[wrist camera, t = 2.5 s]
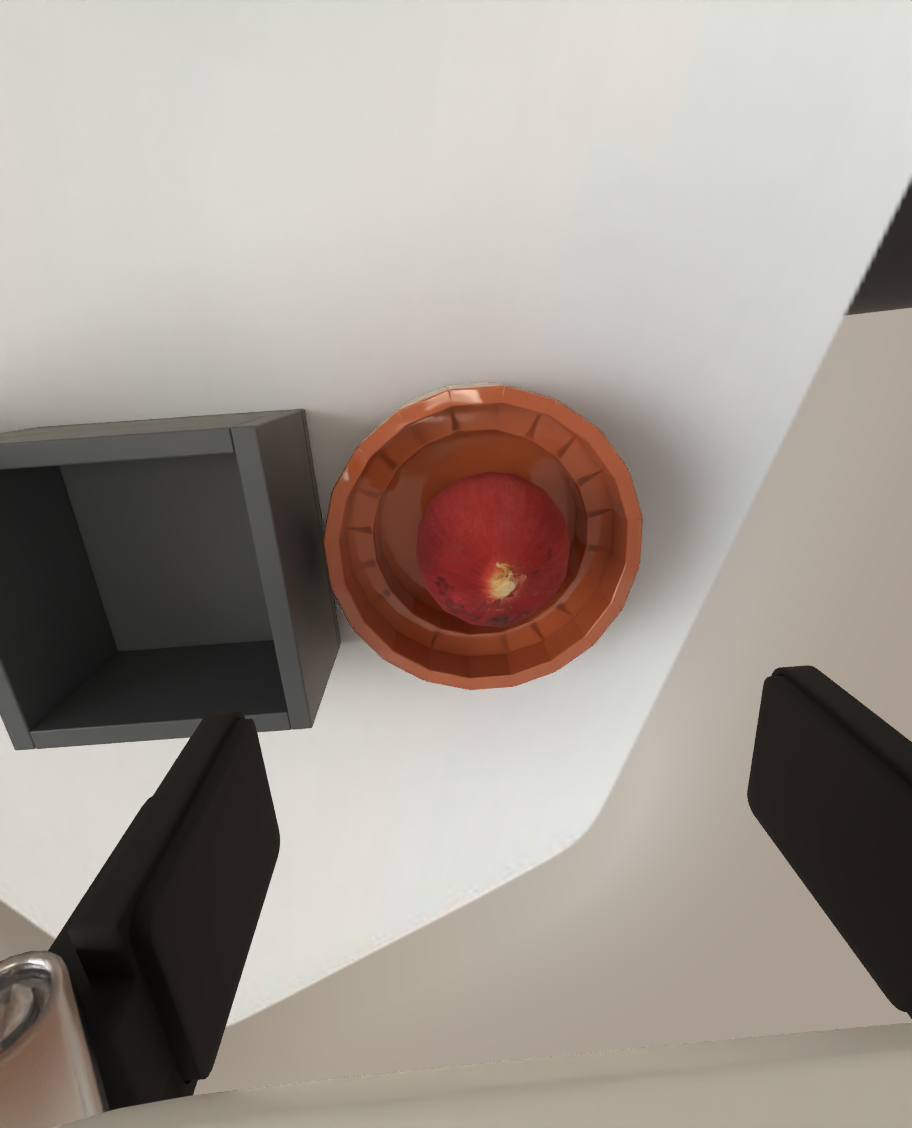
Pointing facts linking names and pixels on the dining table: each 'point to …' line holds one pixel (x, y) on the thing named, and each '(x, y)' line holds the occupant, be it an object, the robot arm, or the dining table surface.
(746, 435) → the dining table surface
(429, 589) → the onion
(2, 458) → the bin
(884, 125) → the dining table surface
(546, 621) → the bowl
